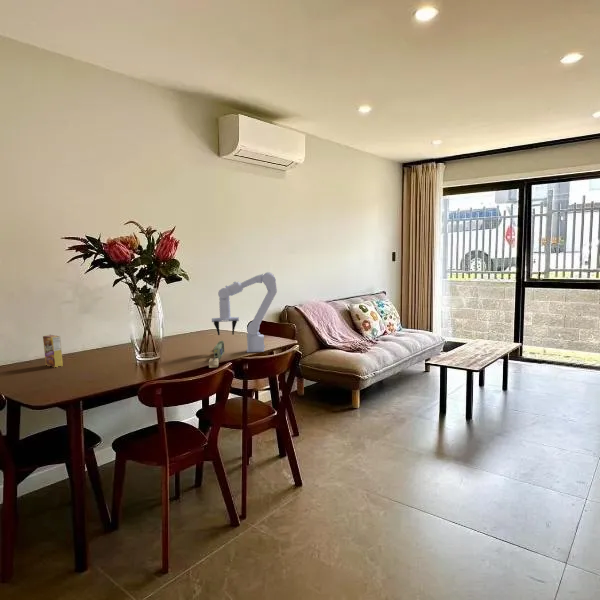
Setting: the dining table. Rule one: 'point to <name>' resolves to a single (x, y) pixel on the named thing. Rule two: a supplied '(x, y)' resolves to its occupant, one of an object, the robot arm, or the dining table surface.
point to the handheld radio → (219, 350)
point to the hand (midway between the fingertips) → (225, 334)
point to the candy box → (52, 350)
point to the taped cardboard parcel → (213, 362)
